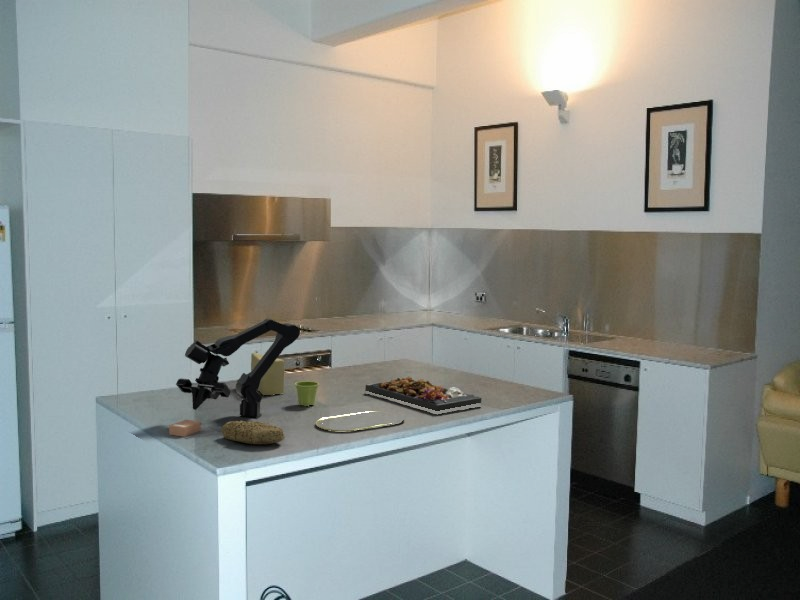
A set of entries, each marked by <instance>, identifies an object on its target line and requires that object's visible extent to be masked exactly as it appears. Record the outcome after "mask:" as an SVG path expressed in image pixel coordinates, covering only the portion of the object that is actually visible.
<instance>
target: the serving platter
mask: <svg viewBox="0 0 800 600" xmlns="http://www.w3.org/2000/svg"><path fill="white" fill-rule="evenodd" d="M381 411H382V410H381ZM381 411H379V410H378V411H377V410H373V411H365V412H364V411H363V412H357V413H350V414H349V413H348V414H343V415H336V416H328V417H322V418H319V419H318V420H316V421H315V426H316V427H317V428H318V427H319V429H320V428H321V429H320V430H322V429H324V430H323V431H325V430H331V431H354V430H360V429H366V428H372V427H377V426H383V425H387V424H388V423H385V424H378V425H373V426H367V427H360V428H359V427H358V428H353V429H336V428H335V429H333V428H327V427H323V426H321V425H320V426H318V423H319V422H321V421H323V420H327V419H332V418H338V417H345V416H350V415H356V414H361V413H369V412H381ZM382 412H384V411H382ZM390 424H392V422H391V423H390Z"/></svg>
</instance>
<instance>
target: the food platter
mask: <svg viewBox="0 0 800 600" xmlns="http://www.w3.org/2000/svg"><path fill="white" fill-rule="evenodd" d="M364 389H365V391H369V392H372V393H375V394H379V395H383V396H386V397H390V398H394V399H397V400H401V401H404V402H408V403H411V404H415V405H418V406H421V407H425V408H428V409H432V410H435V411H440V410H445V409H450V408H455V407H461V406H466V405H471V404H476V403H481V404H482V397H479V396H476V395H474V394H468V393H464V392H463V390H460V388H458V387H455V386H450V387H449V388H445V387H444V386H442V385H436V384H432V383H431V382H430V381H429V380H426V381H425V379H424V378H423V379H421V378H420V379H418V380H414V379H413V378H412V377H411V376H407V377H406V378H404V377H402V378H400V377H397V379H391V380H390V381H384V382H376V383H367V384H365V388H364ZM365 391H364V392H365Z"/></svg>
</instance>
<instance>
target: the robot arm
mask: <svg viewBox="0 0 800 600" xmlns="http://www.w3.org/2000/svg"><path fill="white" fill-rule="evenodd" d="M270 331H273V332H276V334H275V338H274V341H273V342H272V344H271V345H270V346H269V348H268V349H267V350H266V351H265V353H264V354H263V355H264V356H263V357H262V358H261V359H260V361H259V362H258V363H257V365H256V366H255V367H254V369H253V370H252V371H251V370H250V372H248V373H245V372H243V373H242V374H241V376H240V377H239V379H236V385H235V387H234V388H235V391H236V393H237V394H238V395H239V396H240V398H241V400H240V401H241V402H240V404H239V416H238V417H239V418H243V419H253V420H257V419H258V418H260V417H261V416H262V415H263V414H262V413H261V402H262V399H263V396H262V394H261V393H260V392H259V391H258V388H259V385H260V381H261V379H262V377H263V376H264V375H265V373H266V372H267V371H268V369H269V368H270V367H271V365H272V364H273V363H274V361H275V360H276V359H279V356H280V355H281V354H282V352H283V351H284V350H285V349H286V348H287V347H290V345H292V344H293V343H294V342H295V341H296V340H297V339H298V338H299V337H300V336H301V335H300V334H301V333H300V332H301V331H300V328H299V326H297V325H295V324H291V323H289V322H285V323H281V322H278V321H276V320H274V319H272V318H265V319H264V320H262V321H261V322H258V323H256V324H255V325H252V326H250V327H248V328H247V329H244V330H242V331H240V332H238V333H237V334H232V335H228V336H224V337H221V338H218V339H217V340H216V341H215V343H212V344H210V345H207V346H206V345H204V344H202V343H201V341H198V340H197V339H196V340H194V342H192V343H191V345H190V346H188V347H187V348H186V351H185V354H184V356H185V358H188V359H189V360H190V361H192V362H195V363H196V364H198V365H201V364H204V365H203V367H201V368H200V369H199V372H200V374H199V376H198V377H196V378H195V382H192V381H191V380H190V379H189V378H188V379H187V378H182V377H181V378H178V379H177V381H176V383H175V385H176V386H177V388H178V389H179V390H180V391H181V392H182V393H184V394H185V393H186V394H191V396H192V398H191V400H192V410H194V411H197V409H199V408H200V406H201V405H203V403H204V402H205V401H206V400H209V399H211V400H218V398H219V396H220V397H221V398H226V399H227V398H229V397H230V395H231V389H230V388H229V387H228V385H227V384H226V383H225V382H220V380H219V378H220V377H219V373H220V371H221V368H222V367H226V366H228V365H229V364H230V362H229V360H228V359H227V357H230V356H232V355H233V354H234V353H236V352H237V351H238V350H239V349H240V348H241V347H242V346H243V345H245V344H246V343H249V342H251V341H253V340H255V339H257V338H258V337H261V336H262V335H264V334H267V333H269V332H270ZM222 356H223V357H222Z"/></svg>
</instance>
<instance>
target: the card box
mask: <svg viewBox="0 0 800 600" xmlns="http://www.w3.org/2000/svg"><path fill="white" fill-rule="evenodd" d="M201 425H202V421H199V420H193V419H192V420H191V419H184V420H181V421H178V422H176V423H172V424H170V425H169V430H168V434H169V436H178V437H181V436H183V437H185V436H188V435H190V434H193V433H196V432H198V431H201ZM183 437H182V438H183Z"/></svg>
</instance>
